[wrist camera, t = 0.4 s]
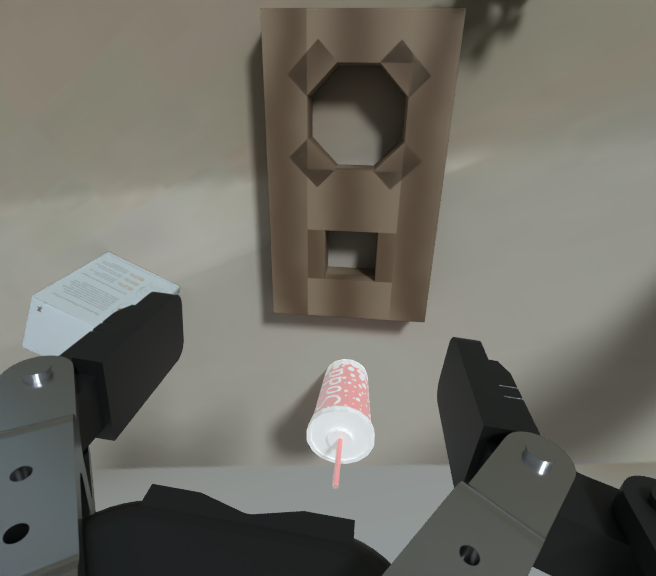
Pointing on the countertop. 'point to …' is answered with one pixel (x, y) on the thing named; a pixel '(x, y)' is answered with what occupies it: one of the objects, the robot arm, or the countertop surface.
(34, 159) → the countertop surface
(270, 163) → the socket plate
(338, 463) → the beverage cup
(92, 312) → the small box
